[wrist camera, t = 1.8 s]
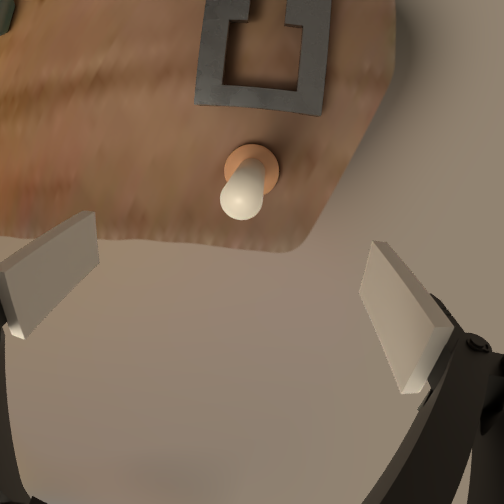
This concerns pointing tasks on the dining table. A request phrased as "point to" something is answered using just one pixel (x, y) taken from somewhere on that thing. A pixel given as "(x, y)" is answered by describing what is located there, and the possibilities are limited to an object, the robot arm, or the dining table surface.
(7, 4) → the flower pot
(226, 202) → the peg
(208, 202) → the dining table surface
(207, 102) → the keyhole plate
